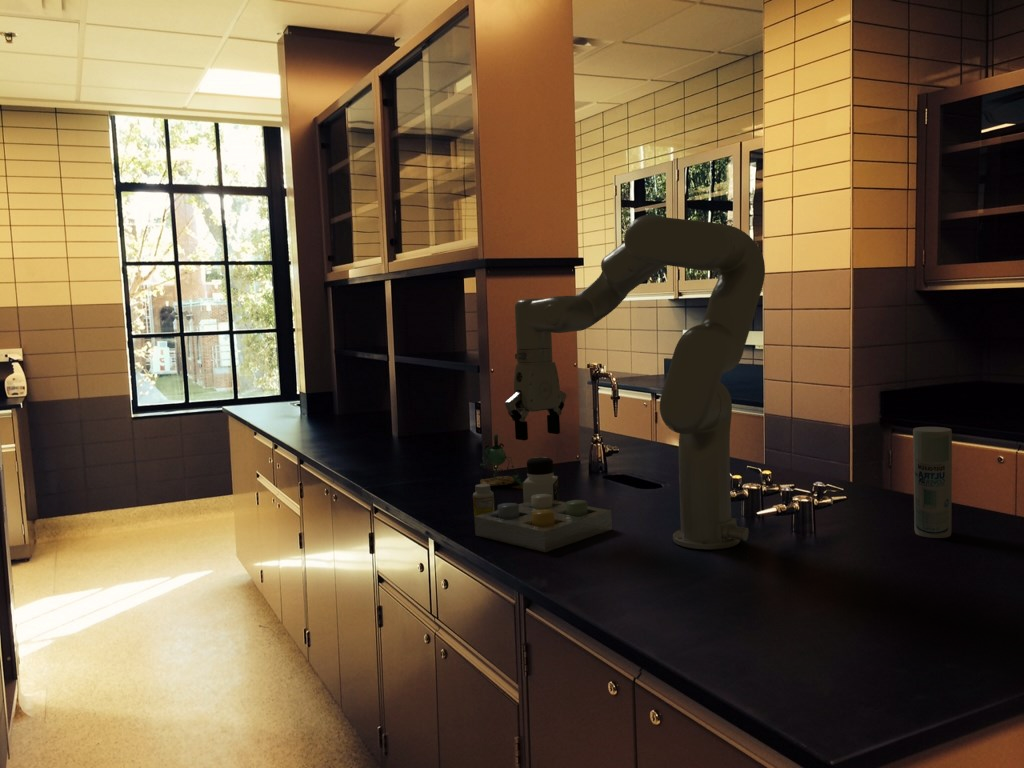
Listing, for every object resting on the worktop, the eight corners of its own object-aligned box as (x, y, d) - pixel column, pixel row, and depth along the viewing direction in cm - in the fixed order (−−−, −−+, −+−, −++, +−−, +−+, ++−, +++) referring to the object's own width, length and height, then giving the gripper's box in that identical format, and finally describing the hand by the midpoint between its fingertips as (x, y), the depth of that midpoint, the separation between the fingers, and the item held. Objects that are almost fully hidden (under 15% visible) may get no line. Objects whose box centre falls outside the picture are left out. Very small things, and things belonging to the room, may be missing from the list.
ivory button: (557, 513, 177) (556, 495, 177) (542, 518, 174) (541, 499, 174) (542, 510, 181) (541, 493, 180) (528, 515, 178) (527, 496, 177)
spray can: (953, 530, 157) (952, 427, 156) (951, 539, 152) (951, 432, 150) (915, 527, 161) (914, 426, 159) (912, 536, 155) (911, 431, 153)
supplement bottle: (480, 519, 184) (478, 482, 183) (498, 520, 182) (496, 483, 181) (470, 524, 180) (468, 487, 179) (489, 526, 178) (487, 487, 177)
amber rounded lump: (559, 531, 163) (558, 511, 163) (544, 536, 160) (543, 516, 160) (543, 527, 167) (542, 508, 166) (528, 532, 163) (527, 512, 163)
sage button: (592, 520, 170) (591, 501, 170) (578, 525, 167) (577, 505, 167) (576, 517, 173) (575, 498, 173) (562, 522, 170) (561, 503, 170)
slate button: (524, 523, 171) (523, 504, 170) (508, 528, 168) (507, 509, 167) (509, 520, 174) (508, 501, 173) (494, 525, 171) (493, 506, 170)
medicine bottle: (554, 513, 186) (552, 460, 185) (523, 513, 188) (521, 461, 187) (559, 505, 193) (557, 455, 192) (529, 505, 195) (527, 455, 194)
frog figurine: (501, 494, 209) (494, 436, 209) (469, 490, 225) (463, 436, 225) (533, 487, 214) (526, 431, 214) (500, 484, 230) (494, 432, 230)
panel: (612, 529, 170) (611, 510, 170) (545, 552, 157) (544, 531, 156) (542, 515, 185) (541, 497, 184) (475, 535, 171) (474, 516, 171)
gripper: (517, 360, 167) (521, 443, 168) (575, 354, 179) (578, 432, 180) (492, 359, 172) (496, 440, 174) (550, 354, 184) (553, 429, 186)
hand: (538, 436), depth 177 cm, fingers open, 9 cm apart
